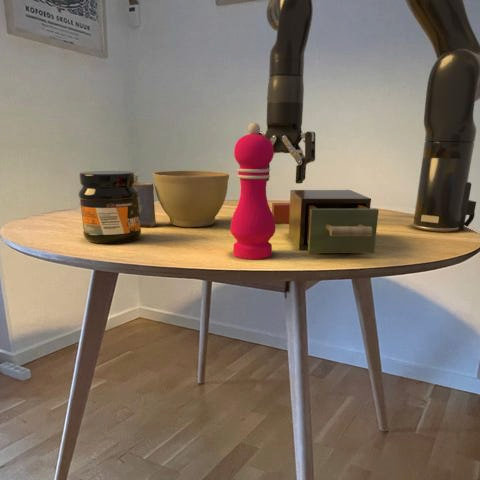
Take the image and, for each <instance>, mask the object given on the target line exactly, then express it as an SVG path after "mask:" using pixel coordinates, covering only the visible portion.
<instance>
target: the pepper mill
mask: <svg viewBox="0 0 480 480" xmlns="http://www.w3.org/2000/svg"><path fill="white" fill-rule="evenodd" d="M247 130H248V133H249V134H245V135H243V136H241V137H240V138H239V139H238V140H237V142H236V143H235V146H234V149H233V150H234V151H233V155H234V159H235V161H236V162H237V164H238V166H239V167H238V168H237V169H236V170H237V178H238V179H239V182H240V196H239V199H238V203H237V206H236V208H235V209H234V212H233V214H232V218H231V222H230V229H229V230H230V234H231V235H232V236H233V237H234V239H235V240H236V242H234V243H233V247H232V248H233V250H232V251H233V253H232V254H233V256H234V257H235V258H238V259H242V260H243V259H244V260H261V259H266V258H270V257H271V256H272V253H273V245H272V243H271V242H269V241H270V240H271V239H272V238H273V236H274V235H275V233H276V223H275V221H274V217H273V215H272V209H271V207H270V204H269V202H268V197H267V185H268V184H267V183H268V181H267V178H269V179H270V177H271V175H270V171H271V168H267V167H268V165H269V164H270V163H271V162H272V160H273V159H274V155H275V154H274V149H273V145H272V143H271V141H270V140H269V139H268V138H267V137H265V136H263V135H260V134H258V133H259V132H260V131H261V126H260V124H259V123H258V122H251V123H250V124H249V125H248V128H247ZM273 154H274V155H273Z"/></svg>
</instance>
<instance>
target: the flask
mask: <svg viewBox="0 0 480 480" xmlns="http://www.w3.org/2000/svg"><path fill="white" fill-rule="evenodd" d="M134 176H135V183H134V187H135V188H136V189H137V190H138V193H139V196H138V202H139V216H140V227H141V228H142V227H143V228H154V227H156V226H157V222H156V221H157V219H156V209H155V208H156V207H155V194H154V189H155V186H154V183H152V182H151V183H150V182H149V183H148V182H138V180H139V179H138V178H139V174H137V173H136V174H134Z"/></svg>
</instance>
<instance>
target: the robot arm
mask: <svg viewBox="0 0 480 480" xmlns="http://www.w3.org/2000/svg"><path fill="white" fill-rule="evenodd" d="M404 1H405V3H406V6H407V7H408V10H409V12H410V13H411V15H412V17H413V18H414V19H415V22H416V23H417V25H418V26H419V28H421V30H422V31H423V33H424V34H425V36H426V37H427V38H428V40H429V43H430V44H431V46H432V48H433V51H434V54H435V58H436V61H435V62H434V63H433V65H432V67H431V69H430V71H429V75H428V80H427V85H426V91H425V93H426V94H425V103H424V113H423V127H424V132H425V135H424V145H423V151H422V158H421V165H420V173H419V181H418V186H417V187H418V188H417V195H416V201H415V209H414V216H413V222H412V227H413V228H414V229H417V230H421V231H422V230H423V231H426V232H438V233H439V232H441V233H447V232H448V233H449V232H450V233H451V232H457V231H458V232H459V231H464V229H465V227H469V226H470V224H471V223H472V222H473V220H474V218H475V215H476V214H475V211H476V205H477V201H475V200H471V199H470V195H471V190H472V182H470V181H469V176H470V171H471V165H472V161H473V160H472V159H473V153H474V147H475V141H476V136H477V126H476V123H475V119H474V111H475V103H476V102H477V101H478V100H479V101H480V41H479V40H478V38H477V36H476V34H475V32H474V30H473V27H472V25H471V23H470V20H469V17H468V13H467V9H466V6H465V1H464V0H404ZM313 4H314V3H313V0H269V1H268V3H267V6H266V20H267V23H268V25H269V26H270V28H271V29H272V30H274V31H275V32H276V40H275V42H274V44H273V46H271V49H270V52H269V63H268V64H269V65H268V67H269V68H268V69H269V70H268V72H269V73H268V82H267V83H268V84H267V94H266V95H267V96H266V127H267V128H266V131H261V130H260V132H259V133H258V134H260V135H263V136H265V137H267V138H268V139H269V140H270V141H271V143H272V145H273V149H274V154H273V156H275V154H290V156H291V157H292V158H294V160H295V162H296V164H297V165H295V184H303V183H304V181H305V180H306V173H307V170H306V169H307V165H308V164H310V163H313V162H315V160H316V132H315V131H305V132H303V131H302V126H303V113H304V96H305V95H304V94H305V83H304V72H305V52H306V48H307V44H308V41H309V36H310V31H311V27H312V20H313V15H314V5H313ZM302 141H303V143H304V151H303V149H302V147H301V146H300V143H301V142H302ZM270 167H271V166H270V163H269V165H268V167H267V168H269V169H271V168H270ZM268 181H270V177H269V178H267V182H268ZM467 216H468V218H467ZM466 218H467V219H466Z"/></svg>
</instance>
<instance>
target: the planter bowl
mask: <svg viewBox="0 0 480 480" xmlns="http://www.w3.org/2000/svg"><path fill="white" fill-rule="evenodd" d="M152 178H153V180H154V189H155V193H156V197H157V200H158V202H159V204H160V206H161V208H162V210H163V211H164V213H165V214H166V216H168V218H169V223H170V224H171V225H173V226H175V227H177V226H178V227H182V228H184V227H187V228H199V227H207V226H208V227H209V226H212V225H213V224H215V223H214V222H215V218H216V217H217V216H218V214H219V213H220V211H221V210H222V208H223V205H224V203H225V200H226V197H227V193H228V184H229V179H230V174H229V173H227V172H222V171H213V170H212V171H211V170H164V171H163V170H162V171H155V172H153V173H152Z"/></svg>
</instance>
